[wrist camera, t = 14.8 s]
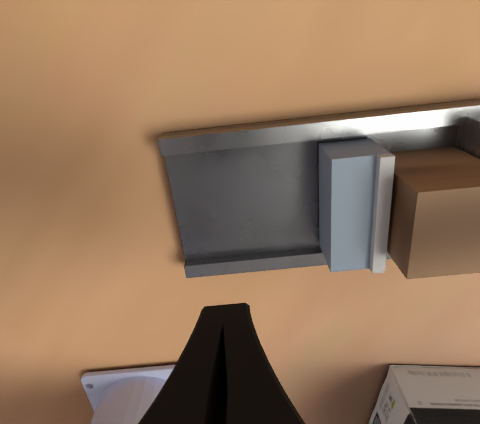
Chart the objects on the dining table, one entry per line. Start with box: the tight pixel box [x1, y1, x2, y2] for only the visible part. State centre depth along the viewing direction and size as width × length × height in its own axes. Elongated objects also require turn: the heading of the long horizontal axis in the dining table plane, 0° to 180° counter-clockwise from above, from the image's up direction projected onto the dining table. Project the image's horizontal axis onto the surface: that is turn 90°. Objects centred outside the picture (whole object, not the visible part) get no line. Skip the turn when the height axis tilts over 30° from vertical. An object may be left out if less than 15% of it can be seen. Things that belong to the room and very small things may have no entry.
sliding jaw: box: [319, 138, 395, 273], centre depth 17 cm, size 6×2×3 cm, turn 6°
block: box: [387, 146, 480, 279], centre depth 17 cm, size 4×4×5 cm
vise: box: [158, 99, 480, 278], centre depth 18 cm, size 8×17×3 cm, turn 96°
